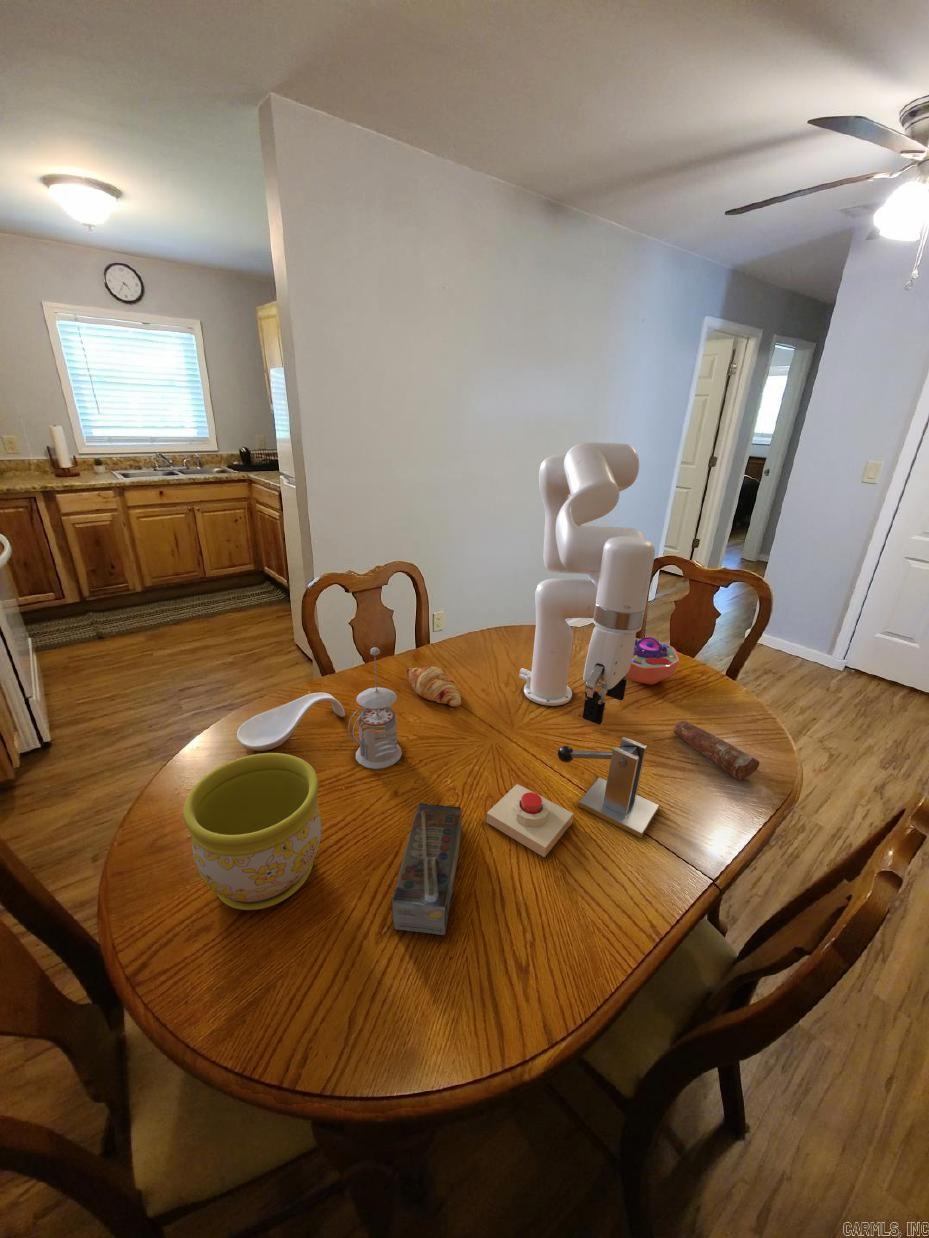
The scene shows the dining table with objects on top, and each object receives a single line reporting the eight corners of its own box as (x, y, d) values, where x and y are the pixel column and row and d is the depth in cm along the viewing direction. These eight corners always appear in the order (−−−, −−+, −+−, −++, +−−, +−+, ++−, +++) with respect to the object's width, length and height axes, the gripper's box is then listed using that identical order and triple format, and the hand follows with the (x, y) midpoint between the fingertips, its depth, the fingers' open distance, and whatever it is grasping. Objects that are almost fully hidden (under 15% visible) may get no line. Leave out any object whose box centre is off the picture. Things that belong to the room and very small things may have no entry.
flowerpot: (291, 940, 69) (279, 850, 62) (174, 915, 71) (151, 827, 65) (343, 839, 85) (337, 760, 79) (246, 822, 88) (233, 744, 81)
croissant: (467, 716, 127) (479, 688, 126) (441, 714, 119) (454, 683, 119) (415, 683, 140) (425, 657, 140) (389, 679, 133) (400, 651, 132)
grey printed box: (389, 931, 70) (388, 897, 68) (417, 827, 88) (417, 798, 85) (445, 938, 70) (446, 905, 67) (462, 832, 87) (463, 803, 85)
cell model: (600, 682, 139) (606, 645, 135) (624, 656, 154) (630, 623, 150) (663, 702, 130) (671, 663, 126) (681, 673, 145) (689, 637, 141)
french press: (411, 753, 107) (410, 648, 97) (367, 779, 99) (361, 667, 89) (382, 734, 113) (379, 633, 103) (338, 757, 105) (330, 650, 96)
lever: (557, 765, 98) (552, 750, 98) (564, 757, 101) (560, 742, 100) (634, 768, 88) (630, 752, 87) (641, 760, 90) (636, 743, 90)
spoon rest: (252, 767, 101) (247, 737, 98) (230, 740, 109) (225, 712, 106) (353, 723, 116) (352, 696, 114) (327, 702, 124) (325, 677, 122)
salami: (737, 787, 101) (744, 764, 99) (667, 734, 117) (671, 714, 115) (759, 779, 103) (766, 757, 101) (687, 728, 119) (692, 708, 117)
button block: (486, 822, 90) (487, 804, 88) (516, 792, 97) (517, 776, 95) (544, 857, 83) (546, 839, 81) (572, 822, 90) (574, 805, 89)
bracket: (578, 806, 94) (587, 745, 89) (598, 781, 101) (608, 723, 96) (641, 838, 87) (655, 775, 82) (658, 809, 94) (672, 749, 89)
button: (516, 807, 88) (517, 800, 88) (527, 796, 91) (528, 789, 90) (534, 817, 86) (535, 809, 86) (544, 806, 89) (545, 798, 88)
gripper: (615, 597, 88) (602, 683, 94) (573, 625, 75) (560, 722, 81) (658, 607, 84) (642, 696, 90) (621, 638, 71) (605, 740, 77)
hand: (603, 708), depth 86 cm, fingers open, 9 cm apart
